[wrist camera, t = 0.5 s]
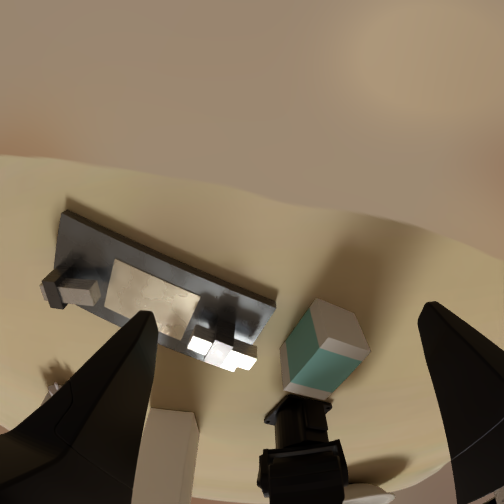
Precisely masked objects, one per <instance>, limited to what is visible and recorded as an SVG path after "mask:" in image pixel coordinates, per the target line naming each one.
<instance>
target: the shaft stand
mask: <svg viewBox="0 0 504 504" xmlns="http://www.w3.org/2000/svg"><path fill="white" fill-rule="evenodd" d="M39 286H40V289H41V292H42V295H43V297H44V300H46V301H48V302H49V304H50V307H51V308H56V309H64V308H65V307H66V306H67V304H68V303H69V304H75V305H77V306H79V307H81V308H83V309H85V310H87V311H89V312H91V313H93V314H95V315H97V316H99V317H101V318H103V319H105V320H107V321H109V322H111V323H113V324H115V325H117V326H119V327H123V326H124V325H125V324H126V323H127V322H128V321H129V320H130V319H131V318H132V317H133V316H134V315H135V314H136V313H137V312H138V311H140V310H148V311H152V312H153V314H154V317H155V320H156V323H157V327H158V331H159V336H158V344H160V345H163V346H165V347H167V348H170V349H172V350H175V351H177V352H180V353H183V354H185V355H188V356H190V357H193V358H196V359H198V360H201V361H204V362H206V363H209V364H212V365H215V366H218V367H220V368H224V369H227V370H230V371H233V372H234V371H235V369H236V368H237V367H240V368H243V369H246V370H249V369H250V368H251V367H252V365H253V364H254V363H255V361H256V360H257V346H254V345H252V344H253V343H254V341H255V340H256V338H257V337H258V335H259V334H260V332H261V331H262V329H263V328H264V326H265V325H266V323H267V322H268V320H269V319H270V317H271V316H272V314H273V313H274V311H275V309H276V302H275V301H272V300H270V299H267V298H265V297H263V296H260V295H258V294H255V293H253V292H250V291H248V290H245V289H243V288H241V287H238V286H236V285H233V284H231V283H229V282H226V281H224V280H221V279H219V278H217V277H214V276H212V275H210V274H207V273H205V272H203V271H200V270H198V269H196V268H193V267H191V266H189V265H186V264H184V263H182V262H180V261H177V260H175V259H173V258H170V257H168V256H166V255H164V254H161V253H159V252H157V251H155V250H152V249H150V248H148V247H146V246H144V245H141V244H139V243H137V242H135V241H133V240H130V239H128V238H126V237H124V236H122V235H120V234H118V233H115V232H113V231H111V230H109V229H107V228H105V227H103V226H100V225H98V224H96V223H94V222H92V221H90V220H88V219H86V218H84V217H82V216H80V215H77V214H75V213H73V212H71V211H69V210H66V211H64V212H62V213H61V218H60V224H59V231H58V237H57V245H56V253H55V262H54V270H53V271H52V272H51V273H49V274H48V275H47V276H46V277H45V278H44V279H43V280H42V283H41V284H40V285H39Z"/></svg>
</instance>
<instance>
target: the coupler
mask: <svg viewBox="0 0 504 504" xmlns="http://www.w3.org/2000/svg"><path fill="white" fill-rule="evenodd" d="M370 352H371V350H370V348H369V346H368V343H367V341H366V339H365V336H364V334H363V332H362V329H361V327H360V325H359V323H358V320H357V318H356V316H355V314H354V313H353V312H350V311H348V310H345V309H343V308H340V307H338V306H336V305H333V304H331V303H328V302H326V301H324V300H321V299H319V298H316V299H315V300H314V302H313V303H312V304H311V306H310V307H309V309H308V310H307V312H306V313H305V314H304V316H303V317H302V319H301V320H300V321H299V323H298V324H297V326H296V327H295V328H294V330H293V331H292V333H291V334H290V335H289V337H288V338H287V339H286V341H285V342H284V343H283V345H282V346H281V347H280V359H281V370H282V381H283V390H285V391H288V392H292V393H296V394H300V395H304V396H308V397H313V398H317V399H321V400H325V399H326V398H327V397H328V396H329V395H330V394H331V393H332V392H333V391H334V390H335V389H336V388H337V387H338V386H339V385H340V384H341V383H342V382H343V381H344V380H345V379H346V378H347V377H348V376H349V375H350V374H351V373H352V372H353V371H354V370H355V369H356V368H357V367H358V366H359V364H360V363H361V362H362V361H363V360H364V359H365V358H366V357H367V356H368V355H369V353H370Z"/></svg>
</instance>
